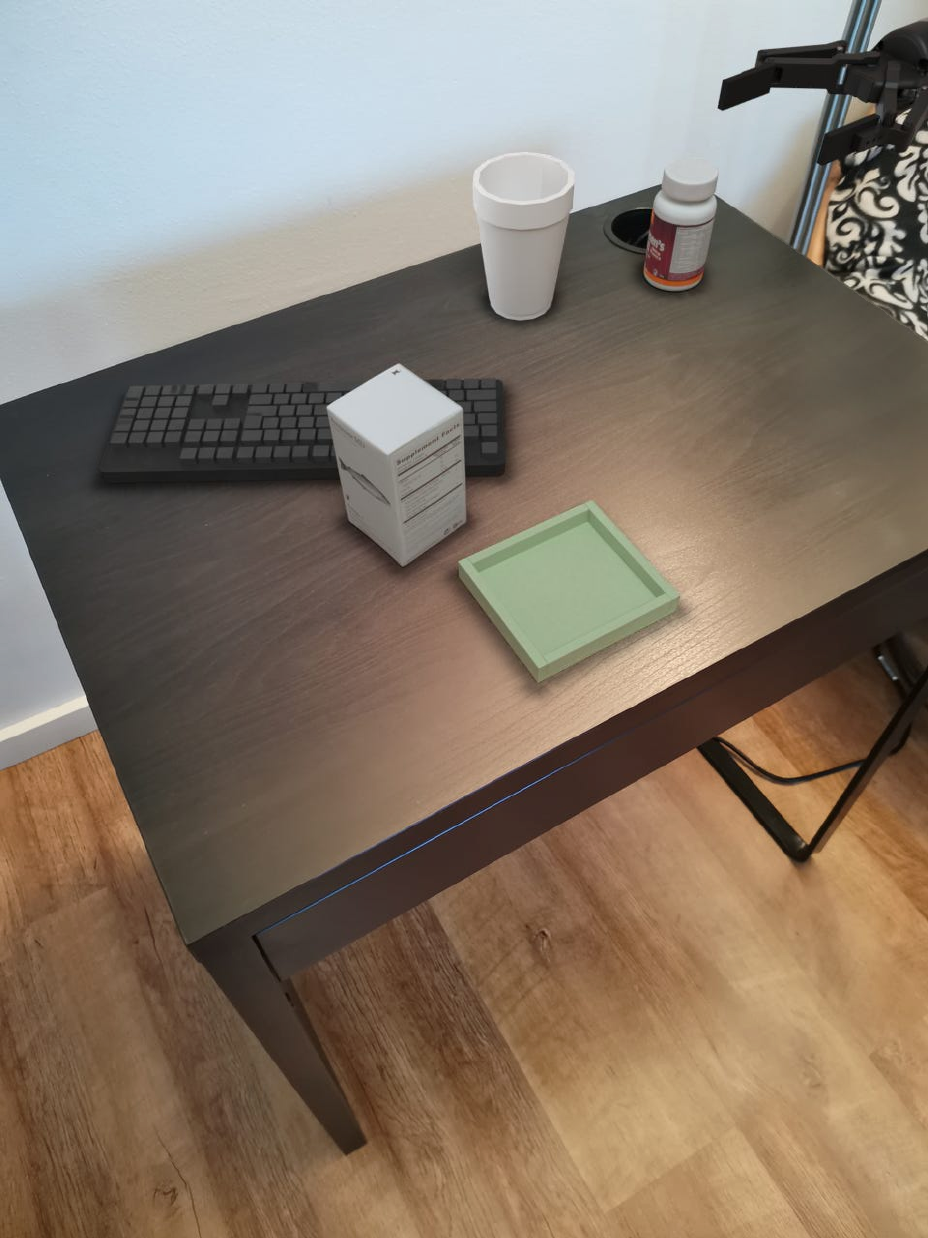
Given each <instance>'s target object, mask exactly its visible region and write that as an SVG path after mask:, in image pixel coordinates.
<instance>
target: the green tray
mask: <svg viewBox="0 0 928 1238" xmlns="http://www.w3.org/2000/svg"><path fill="white" fill-rule="evenodd" d="M457 562H458V563H457V564H458V577H459V579H460V580H461V582H462V583H463V584H464V586H465V587H466V589H467V590H468V591H469V593H470V594H471V595H472V596H473V598H474V599H475V601H476V602H477V603H478V604H479V606H480V607H481V608H482V610H483V612H484V614H486V615H487V617H488V618H489V619H490V621H491V622H492V624H493V625H494V627H495V628H497V630H498V632H499V633H500V634H501V636H502V637H503V638H504V639H505V641H506V643H507V644H508V645H509V647H510V648H511V649H512V651H513V652H514V654H516V657H518V658H519V660H520V661H521V663H522V664H523V665H524V666H525V668H526V670H527V671H528V672H529V673H530V675H531V676H532V677H533V679H534V680H535V682H536V683H537V684H538V683H541V682H543V681H545V680H546V679H549V678H551V677H552V676H555V675H556V674H558V673H560V672H562V671H564V670H566V669H568V668H569V667H572V666H573V665H575V664H578V663H579V662H581V661H583V660H585V659H587V658H588V657H591V656H593V655H595V654H597V653H599V652H600V651H603V650H605V649H606V648H608V647H610V646H612V645H614V644H616V643H617V642H619V641H622V640H623V639H625V638H627V637H629V636H631V635H633V634H635V633H637V632H638V631H641V630H643V629H645V628H646V627H648V626H650V625H652V624H654V623H656V622H658V621H660V620H662V619H664V618H666V617H668V616H670V615H672V614H673V613H675V612H677V610H678V605H679V602H680V599H681V594H680V593H679V592H678V591H677V590H676V589H675V588H674V586H672V585H671V584H670V582H668V581H667V579H666V578H665V577H664V576H663V575H662V574H661V573H660V572H659V571H658V569H656V568H655V566H654V565H653V564H652V563H651V562H650V561H649V560H648V559H647V557H645V556H644V554H643V553H642V552H641V551H640V550H639V549H638V548H637V546H635V544H634V543H633V542H632V541H631V540H630V539H629V538H628V537H627V536H626V535H625V534H624V532H622V531H621V530H620V529H619V527H618V526H617V525H616V524H615V523H614V522H613V521H612V520H611V518H609V516H608V515H606V513H605V512H604V511H603V510H602V509H601V508H600V507H599V506H598V504H597V503H596V502H595V501H593V499H590V500H587V501H586V502H584V503H581V504H579V505H577V506H574V507H573V508H570V509H568V510H565V511H564V512H562V513H559V514H557V515H555V516H553V517H551V518H549V519H546V520H544V521H542V522H540V523H538V524H536V525H533V526H531V527H528V528H527V529H525V530H523V531H521V532H518V533H516V534H514V535H512V536H510V537H508V538H506V539H503V540H500V541H499V542H497V543H495V544H492V545H490V546H488V547H486V548H484V549H482V550H480V551H477V552H475V553H473V554H471V555H469V556H467V557H465V558H463V559H460V560H458V561H457Z"/></svg>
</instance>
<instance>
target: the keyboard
mask: <svg viewBox="0 0 928 1238" xmlns="http://www.w3.org/2000/svg"><path fill="white" fill-rule="evenodd" d="M423 380H424V381H425V382H427V383H428V384H430V385H431V386H432V387H434V388H435V389H437V390H438V391H439V392H441V393H442V394H444V395H445V396H447V397H448V398H449V399H451V400H452V401H454V402H455V403H457V404H458V405H460V406H461V407H462V408H463V432H464V463H465V478H467V477H468V478H469V477H470V478H471V477H472V478H473V477H500V476H503V475H504V474H505V472H506V441H505V440H506V438H505V405H504V383H503V381H502V380H501V379H497V378H495V377H487V378H485V377H484V378H481V379H479V378H464V379H461V378H447V379H443V378H439V379H437V378H435V379H423ZM367 381H368V380H344V381H343V380H342V381H341V380H339V381H337V380H336V381H305V382H301V381H300V382H299V381H298V382H295V381H294V382H293V381H292V382H291V381H290V382H287V383H286V382H270V383H268V382H254V383H252V384H249V383H234V384H232V383H217V384H214V383H206V384H205V383H204V384H203V383H202V384H200V385H196V384H165V385H163V386H162V385H161V384H160V385H158V384H157V385H150V384H149V385H146V386H145V385H130V386H129V388H128V389H127V390H126V392H125V394H124V396H123V400H122V403H121V406H120V408H119V411H118V414H117V417H116V419H115V422H114V425H113V428H112V431H111V434H110V437H109V439H108V442H107V445H106V448H105V451H104V453H103V456H102V459H101V462H100V465H99V471H100V473H101V476H102V477H103V478H104V481H105V482H106V483H107V484H133V483H134V484H135V483H138V484H140V483H142V484H143V483H188V482H189V483H194V482H196V483H197V482H198V483H199V482H242V481H243V482H244V481H245V482H246V481H250V482H251V481H302V480H305V481H306V480H309V481H310V480H341V479H340V474H339V469H338V464H337V458H336V453H335V448H334V443H333V438H332V433H331V428H330V423H329V418H328V412H327V409H326V408H327V406H328V405H330V404H331V403H333V402H334V401H336V400H337V399H339V398H341V397H343V396H344V395H346V394H348V393H349V392H351V391H353V390H354V389H356V388H357V387H359V386H361V385H363V384H364V383H366V382H367Z"/></svg>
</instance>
